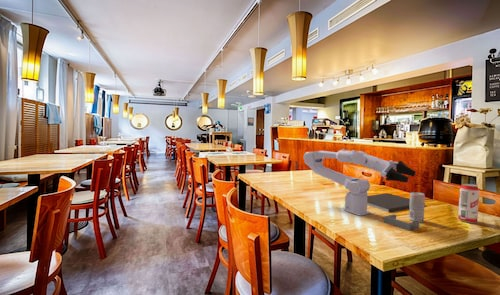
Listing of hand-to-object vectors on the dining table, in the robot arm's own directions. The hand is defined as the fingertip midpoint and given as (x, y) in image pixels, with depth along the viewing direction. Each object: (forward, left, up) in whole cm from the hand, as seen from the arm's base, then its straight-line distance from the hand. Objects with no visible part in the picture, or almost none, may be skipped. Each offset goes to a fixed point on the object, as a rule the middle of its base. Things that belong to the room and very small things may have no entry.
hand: (411, 177), depth 100 cm
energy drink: (-1, +8, -20) cm, 22 cm away
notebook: (-23, +23, -21) cm, 39 cm away
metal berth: (-1, -3, -20) cm, 20 cm away
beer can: (+10, +27, -20) cm, 35 cm away
